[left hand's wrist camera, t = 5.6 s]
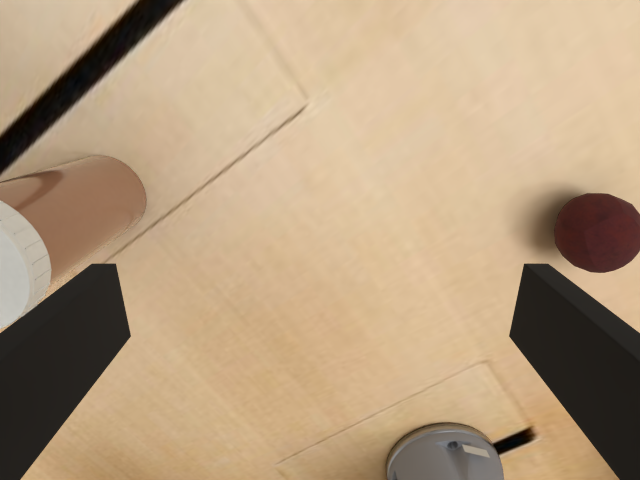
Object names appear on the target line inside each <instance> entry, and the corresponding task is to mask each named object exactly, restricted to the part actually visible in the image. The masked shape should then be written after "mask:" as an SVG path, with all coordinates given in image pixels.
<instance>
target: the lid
mask: <svg viewBox="0 0 640 480" xmlns="http://www.w3.org/2000/svg"><path fill="white" fill-rule="evenodd" d="M51 271H52V269H51V264H50V258H49V254H48V252H47V249H46V247H45V245H44V242H43V240H42V239H41V237H40V236H39V234H38V232H37V231H36V230H35V229H34V227H33V226H32V225H31V224H30V223H29V222H28V221H27V220H26V219H25V218H24V217H23V216H22V215H21V214H20V213H19V212H17V211H16V210H15V209H13V208H12V207H10V206H9V205H7V204H6V203H4V202H3V201H0V329H1V328H3V327H5V326H8V325H9V324H12V323H13V322H14V321H16V320H17V319H18V318H20V317H22V316H24V315H25V314H26V313H28V312H29V311H30V310H32V309H33V308H34V307H36V306H37V305H38V304H37V303H38V302H39V301H40V300H41V299H42V298H43V297H44V296H45V293H46V291H47V289H48V287H49V285H50V279H51Z"/></svg>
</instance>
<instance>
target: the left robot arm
mask: <svg viewBox="0 0 640 480" xmlns="http://www.w3.org/2000/svg"><path fill="white" fill-rule="evenodd" d="M130 337H131V335H130V330H129V325H128V320H127V316H126V311H125V306H124V301H123V296H122V291H121V286H120V282H119V277H118V272H117V267H116V264H91V265H90V266H88V267H87V268H86V269H84V270H83V271H82V272H80V273H79V274H78V275H76V276H75V277H74V278H73V279H71V280H70V281H69V282H67V283H66V284H65V285H63V286H62V287H61V288H59V289H58V290H57V291H55V292H54V293H53V294H51V295H50V296H49V297H47V298H46V299H45V300H44V301H42V302H41V303H40V304H38V305H37V306H36V307H34V308H33V309H32V310H30V311H29V312H28V313H26V314H25V315H24V316H22V317H21V318H20V319H18V320H17V321H16V322H15V323H13V324H12V325H11V326H9V327H8V328H7V329H5V330H4V331H3V332H1V333H0V480H20V479H21V478H22V477H23V475H24V474H25V473H26V471H27V470H28V469H29V468H30V466H31V465H32V464H33V462H34V461H35V460H36V458H37V457H38V456H39V455H40V453H41V452H42V451H43V449H44V448H45V447H46V446H47V444H48V443H49V442H50V440H51V439H52V438H53V436H54V435H55V434H56V433H57V431H58V430H59V429H60V427H61V426H62V425H63V423H64V422H65V421H66V420H67V418H68V417H69V416H70V414H71V413H72V412H73V411H74V409H75V408H76V407H77V405H78V404H79V403H80V401H81V400H82V399H83V398H84V396H85V395H86V394H87V392H88V391H89V390H90V388H91V387H92V386H93V385H94V383H95V382H96V381H97V379H98V378H99V377H100V376H101V374H102V373H103V372H104V370H105V369H106V368H107V366H108V365H109V364H110V363H111V361H112V360H113V359H114V357H115V356H116V355H117V353H118V352H119V351H120V350H121V348H122V347H123V346H124V344H125V343H126V342H127V340H128V339H129V338H130ZM509 337H510V338H511V339H512V340H513V342H514V343H515V344H516V346H517V347H518V348H519V350H520V351H521V352H522V353H523V355H524V356H525V357H526V359H527V360H528V361H529V363H530V364H531V365H532V366H533V368H534V369H535V370H536V372H537V373H538V374H539V376H540V377H541V378H542V379H543V381H544V382H545V383H546V385H547V386H548V387H549V388H550V390H551V391H552V392H553V394H554V395H555V396H556V398H557V399H558V400H559V401H560V403H561V404H562V405H563V407H564V408H565V409H566V411H567V412H568V413H569V414H570V416H571V417H572V418H573V420H574V421H575V422H576V423H577V425H578V426H579V427H580V429H581V430H582V431H583V433H584V434H585V435H586V436H587V438H588V439H589V440H590V442H591V443H592V444H593V446H594V447H595V448H596V449H597V451H598V452H599V453H600V455H601V456H602V457H603V458H604V460H605V461H606V462H607V464H608V465H609V466H610V468H611V469H612V470H613V471H614V473H615V474H616V475H617V477H618V478H619V479H620V480H640V333H639V332H637V331H636V330H635V329H633V328H632V327H631V326H629V325H628V324H627V323H625V322H624V321H623V320H622V319H620V318H619V317H618V316H616V315H615V314H614V313H612V312H611V311H610V310H608V309H607V308H606V307H604V306H603V305H602V304H600V303H599V302H598V301H596V300H595V299H594V298H593V297H591V296H590V295H589V294H587V293H586V292H585V291H583V290H582V289H581V288H579V287H578V286H577V285H575V284H574V283H573V282H571V281H570V280H569V279H567V278H566V277H565V276H564V275H562V274H561V273H560V272H558V271H557V270H556V269H554V268H553V267H552V266H550V265H549V264H524V267H523V272H522V277H521V282H520V286H519V291H518V296H517V301H516V306H515V311H514V316H513V320H512V325H511V330H510V335H509Z"/></svg>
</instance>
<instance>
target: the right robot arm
mask: <svg viewBox="0 0 640 480" xmlns="http://www.w3.org/2000/svg"><path fill="white" fill-rule="evenodd" d="M386 472H387V478H388V480H504V475H503V468H502V464H501V461H500V458H499V455H498V453H497V451H496V449H495V447H494V445H493V443H492V442H491V441H490V439H489V438H488V437H487V436H485V435H484V434H483V433H481V432H480V431H478V430H476V429H474V428H471V427H468V426H465V425H460V424H449V423H446V424H435V425H430V426H426V427H423V428H420V429H418V430H416V431H414V432H412V433H410V434H408V435H407V436H405V437H404V438H403V439H401V440H400V441H399V442H398V443H397V444H396V445H395V446H394V448H393V449H392V450H391V452H390V454H389V456H388V459H387V464H386Z"/></svg>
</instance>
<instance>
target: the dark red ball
mask: <svg viewBox="0 0 640 480" xmlns="http://www.w3.org/2000/svg"><path fill="white" fill-rule="evenodd" d="M554 234H555V243H556V246H557V248H558V249H559V251H560V252H561V254H562V255H563V256H564V257H565V258H566V259H567V260H568V261H569V262H570V263H571V264H573V265H574V266H576V267H579V268H581V269H584V270H587V271H589V272H596V273H605V272H609V271H614V270H616V269H619V268H621V267H623V266H625V265H626V264H628V263H629V262H631V261H632V260H633V259H634V257H635V256H636V255H637V254H638V252H639V251H640V214H639V213H638V211H637V210H636V209H635V207H634V206H633V205H632V204H630V203H628V202H626V201H624V200H622V199H620V198H617V197H615V196H612V195H610V194H602V193H587V194H584V195H581V196H579V197H576V198H574V199H572V200H571V201H569V202H568V203H567V204H566V205H565V206H564V207H563V208H562V210H561V212H560V213H559V215H558V218H557V222H556V225H555V229H554Z"/></svg>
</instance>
